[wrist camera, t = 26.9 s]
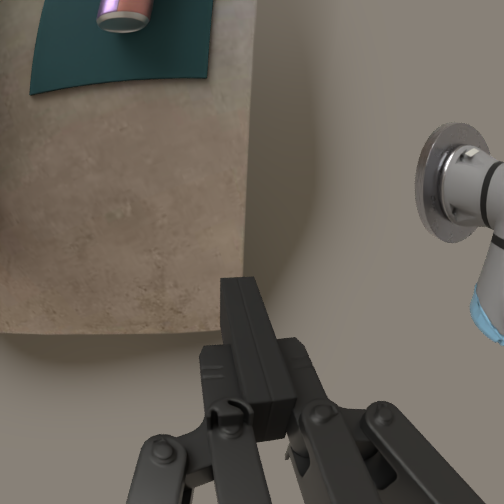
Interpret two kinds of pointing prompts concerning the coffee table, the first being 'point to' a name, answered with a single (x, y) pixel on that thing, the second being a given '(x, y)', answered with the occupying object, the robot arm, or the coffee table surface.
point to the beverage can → (124, 15)
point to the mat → (119, 45)
